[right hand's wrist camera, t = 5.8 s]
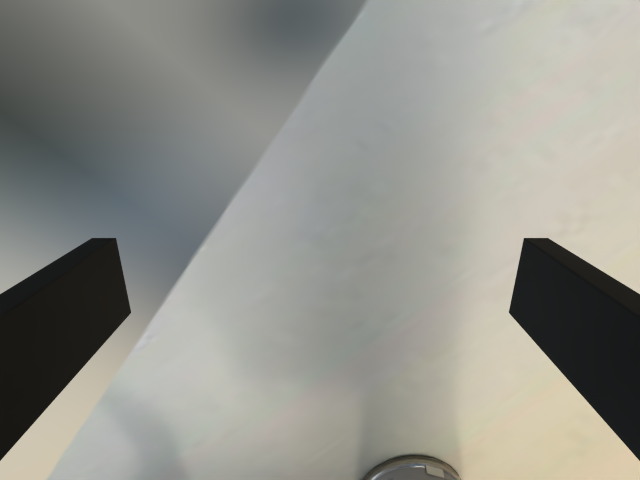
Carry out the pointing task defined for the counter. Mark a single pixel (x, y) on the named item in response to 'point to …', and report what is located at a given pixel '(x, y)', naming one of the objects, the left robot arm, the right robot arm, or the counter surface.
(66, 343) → the right robot arm
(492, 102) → the counter surface
